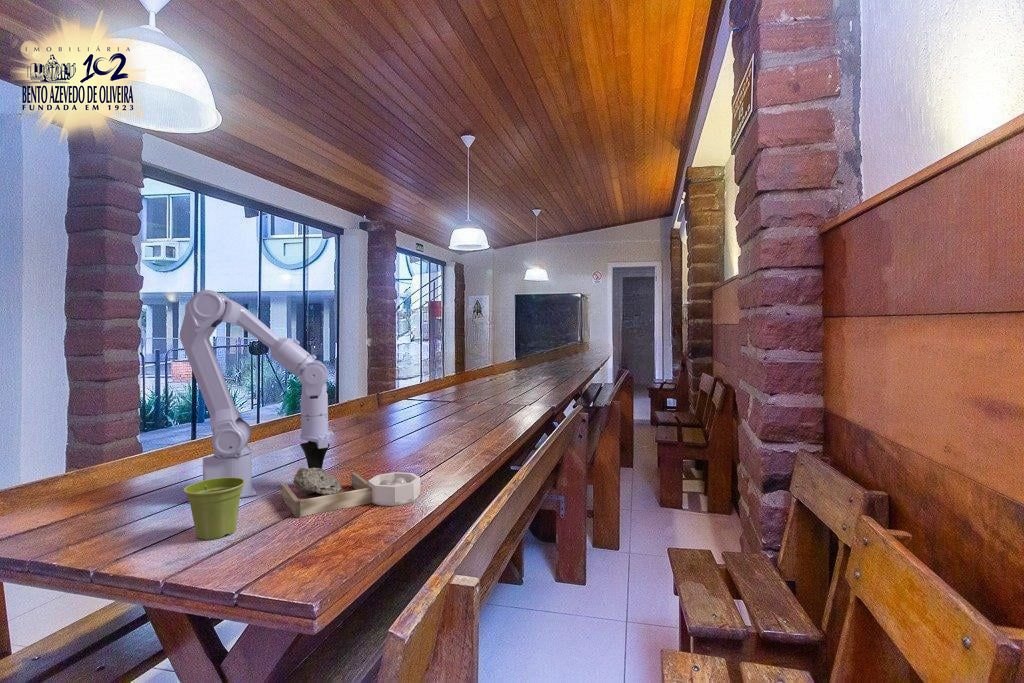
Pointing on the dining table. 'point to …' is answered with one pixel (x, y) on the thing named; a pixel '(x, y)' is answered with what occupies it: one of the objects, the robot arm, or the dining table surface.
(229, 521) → the plant pot
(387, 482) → the pebble
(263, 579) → the dining table surface
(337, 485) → the rock sample
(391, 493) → the bowl
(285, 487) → the tray frame
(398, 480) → the pebble
